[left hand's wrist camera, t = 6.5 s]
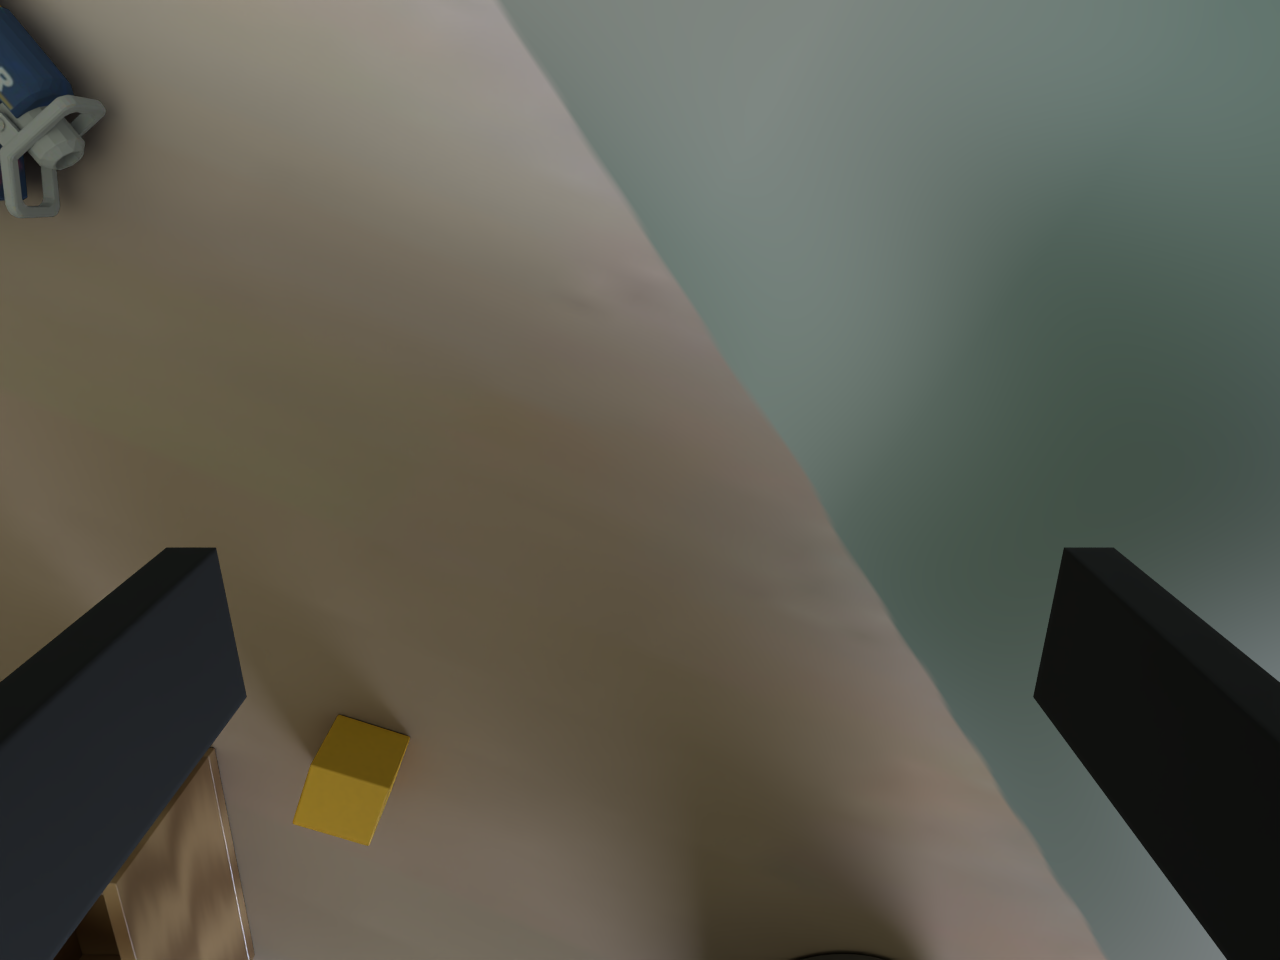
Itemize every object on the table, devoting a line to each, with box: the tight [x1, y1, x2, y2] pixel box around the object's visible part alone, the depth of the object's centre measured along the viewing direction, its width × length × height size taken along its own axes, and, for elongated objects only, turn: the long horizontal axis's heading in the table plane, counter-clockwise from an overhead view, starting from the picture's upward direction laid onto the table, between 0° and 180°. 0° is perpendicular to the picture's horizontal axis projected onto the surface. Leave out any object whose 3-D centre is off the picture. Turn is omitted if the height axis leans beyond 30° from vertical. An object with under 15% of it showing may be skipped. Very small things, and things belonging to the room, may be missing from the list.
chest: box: [53, 748, 255, 960], centre depth 47 cm, size 17×11×10 cm
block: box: [293, 715, 410, 846], centre depth 46 cm, size 4×4×4 cm
